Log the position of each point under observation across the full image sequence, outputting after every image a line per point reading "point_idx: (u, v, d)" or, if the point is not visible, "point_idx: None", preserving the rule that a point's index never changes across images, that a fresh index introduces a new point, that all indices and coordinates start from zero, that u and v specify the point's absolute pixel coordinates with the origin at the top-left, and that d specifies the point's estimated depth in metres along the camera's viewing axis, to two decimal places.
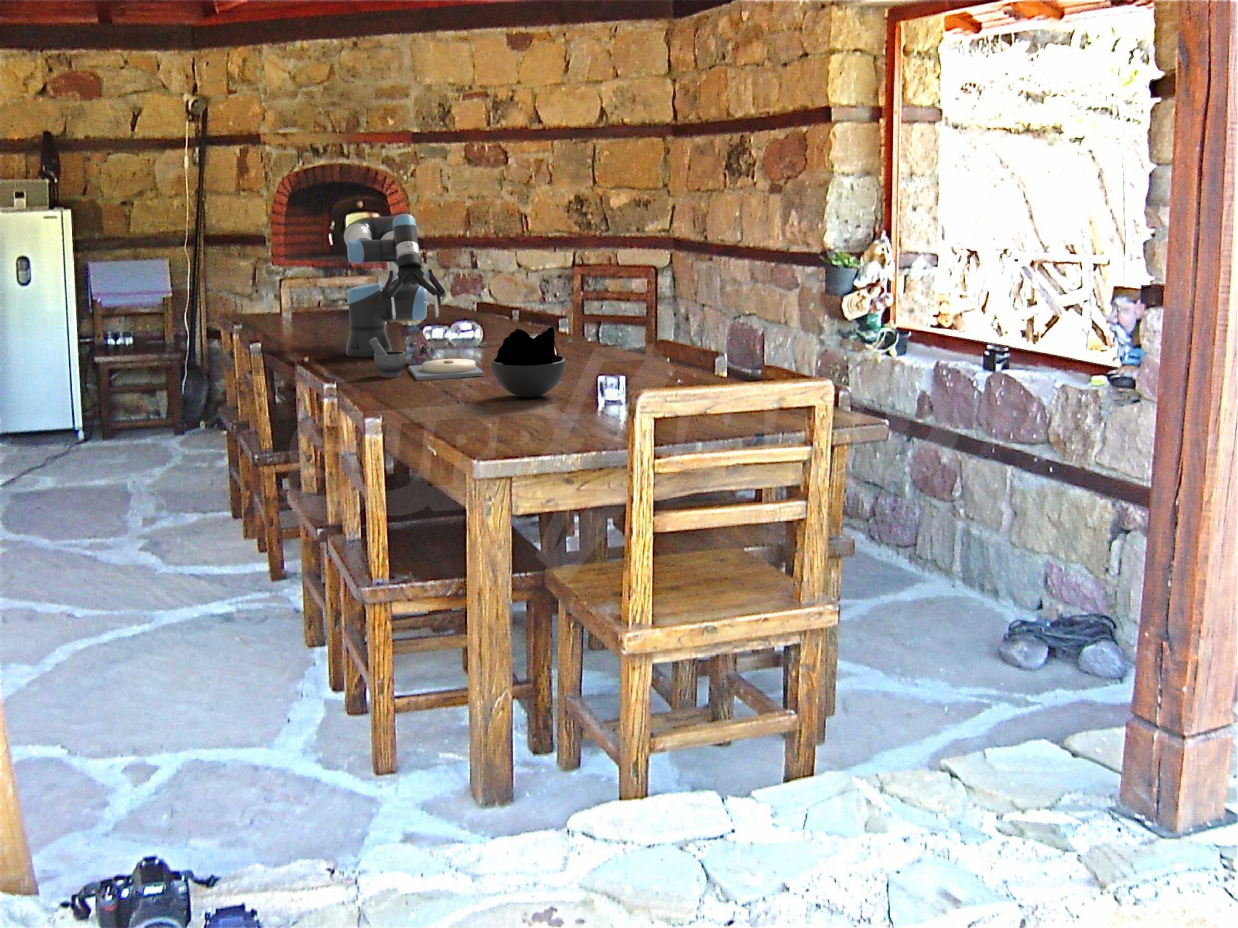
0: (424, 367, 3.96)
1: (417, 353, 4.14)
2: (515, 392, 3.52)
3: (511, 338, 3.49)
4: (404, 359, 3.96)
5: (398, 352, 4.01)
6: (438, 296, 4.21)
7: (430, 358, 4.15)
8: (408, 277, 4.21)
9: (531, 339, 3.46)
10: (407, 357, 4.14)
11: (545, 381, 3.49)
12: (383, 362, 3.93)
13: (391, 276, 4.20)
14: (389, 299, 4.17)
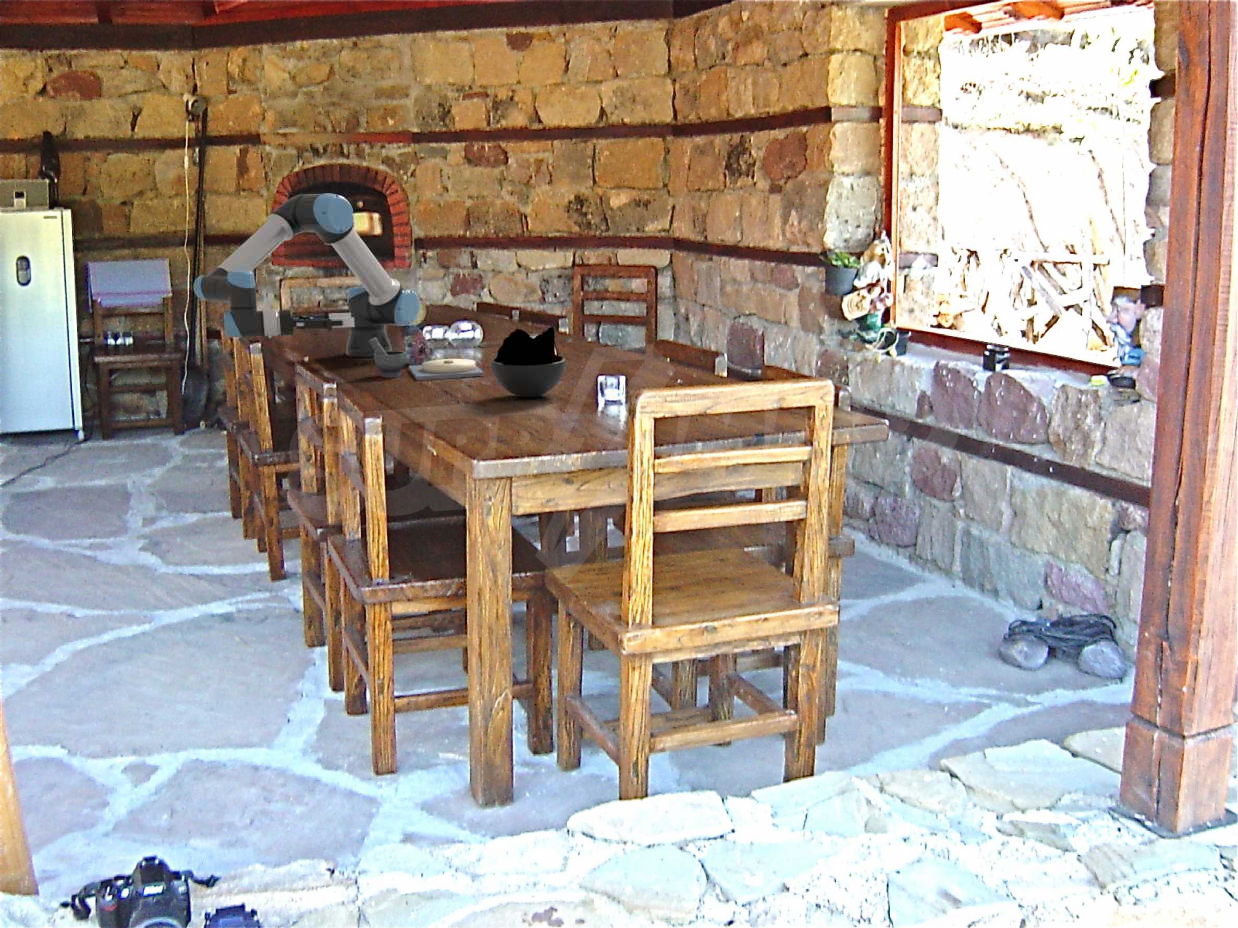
0: (424, 367, 3.96)
1: (416, 353, 4.14)
2: (515, 392, 3.52)
3: (511, 338, 3.49)
4: (404, 359, 3.96)
5: (398, 352, 4.01)
6: (332, 326, 3.83)
7: (429, 358, 4.16)
8: None
9: (531, 339, 3.46)
10: (406, 357, 4.15)
11: (545, 381, 3.49)
12: (383, 362, 3.93)
13: None
14: None
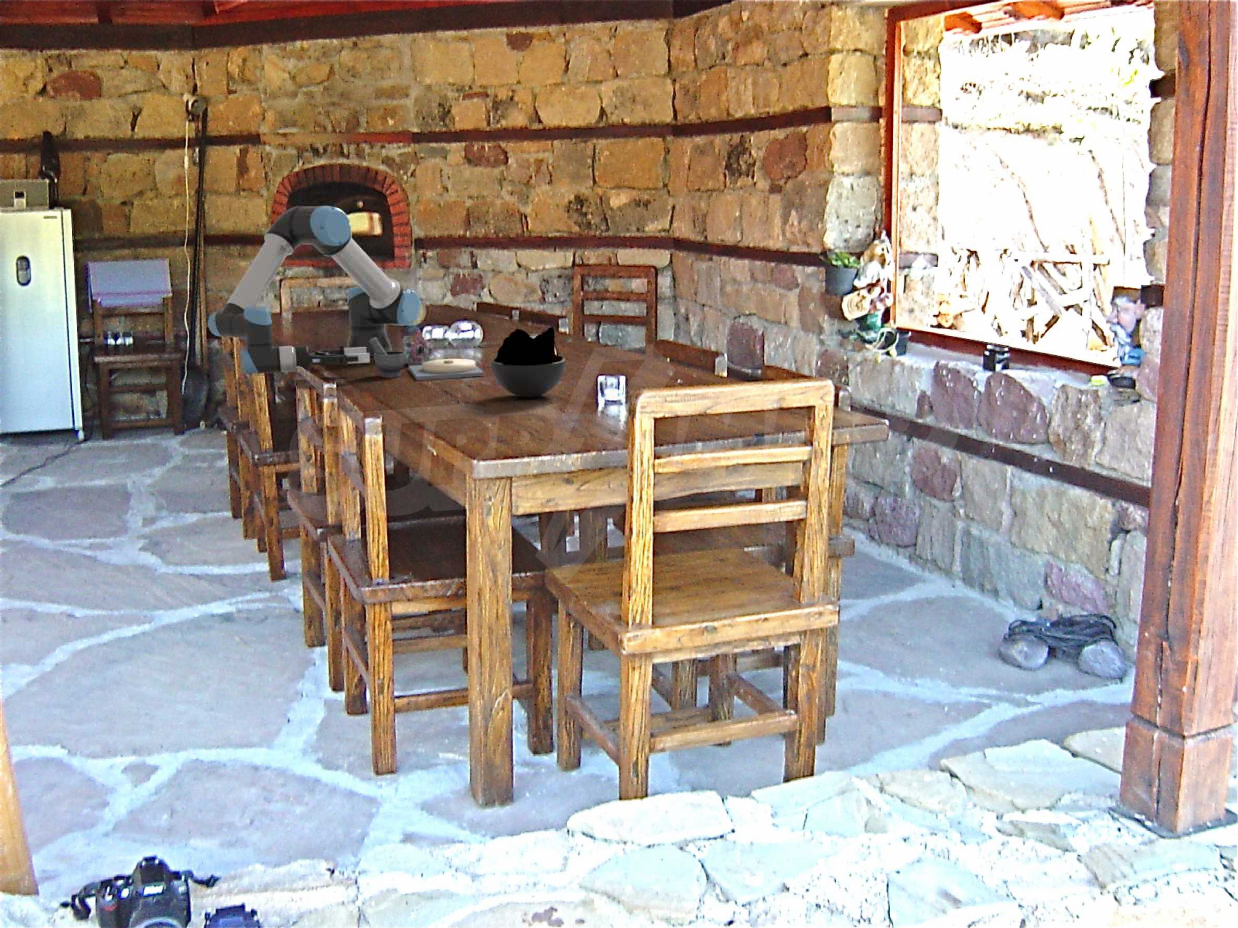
0: (424, 367, 3.96)
1: (414, 353, 4.14)
2: (515, 392, 3.52)
3: (511, 338, 3.49)
4: (404, 359, 3.96)
5: (398, 352, 4.01)
6: (348, 361, 3.86)
7: (427, 358, 4.16)
8: None
9: (531, 339, 3.46)
10: None
11: (545, 381, 3.49)
12: (383, 362, 3.93)
13: None
14: None
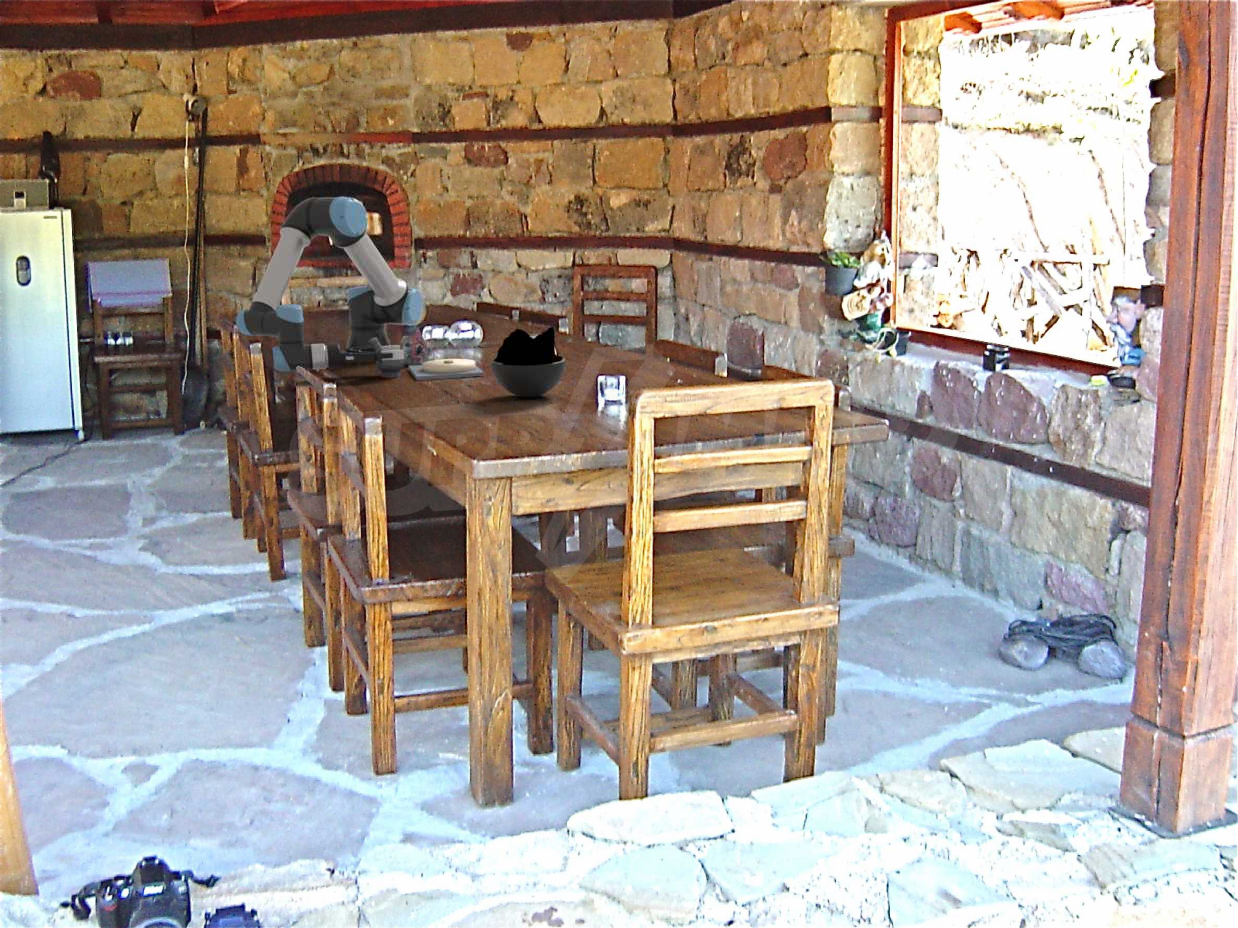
0: (424, 367, 3.96)
1: (412, 353, 4.15)
2: (515, 392, 3.52)
3: (511, 338, 3.49)
4: (404, 359, 3.96)
5: None
6: (382, 358, 3.90)
7: (426, 358, 4.16)
8: None
9: (531, 339, 3.46)
10: None
11: (545, 381, 3.49)
12: (383, 362, 3.93)
13: None
14: None
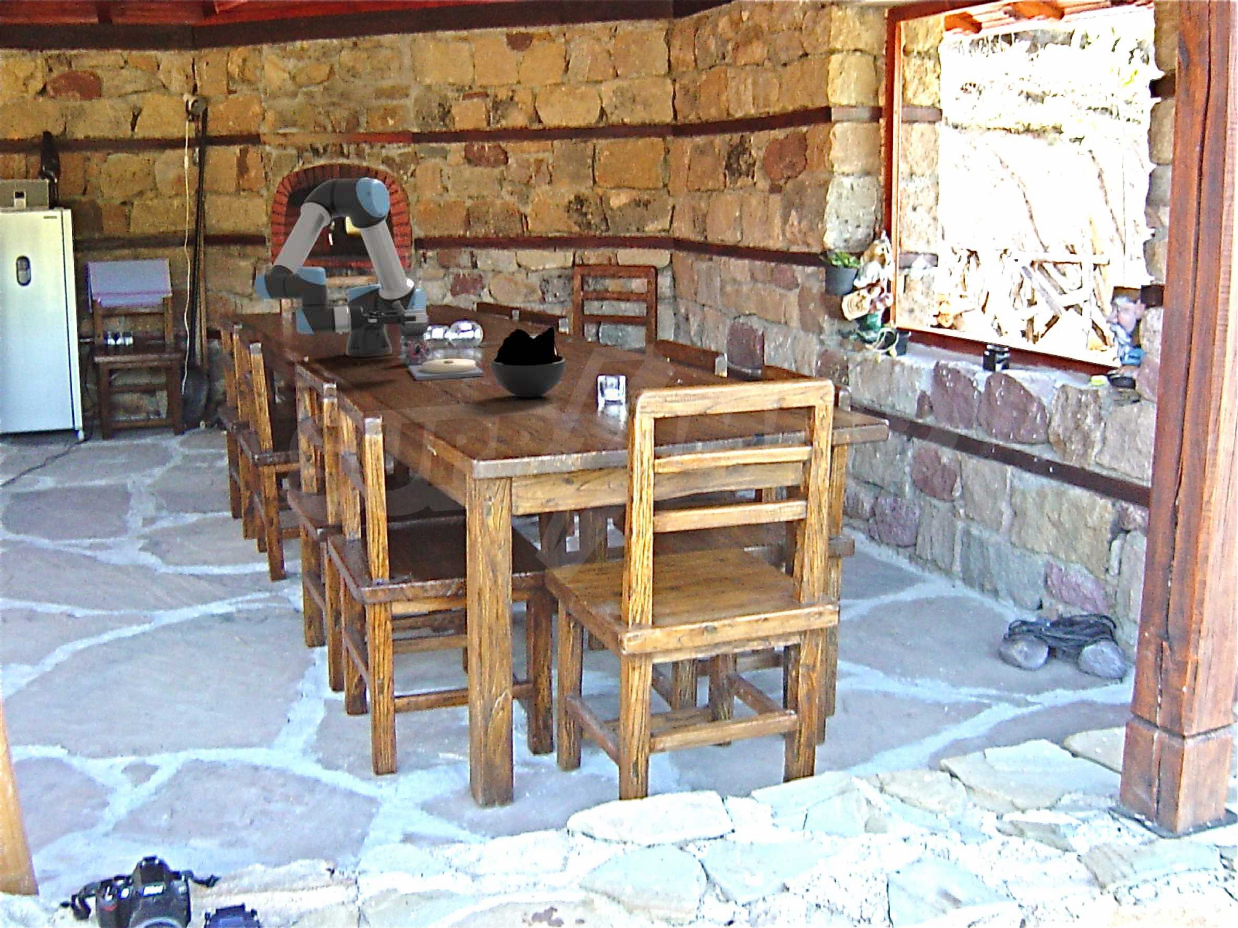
0: (424, 367, 3.96)
1: (411, 352, 4.15)
2: (515, 392, 3.52)
3: (511, 338, 3.49)
4: (427, 323, 3.93)
5: None
6: (405, 321, 3.88)
7: (424, 358, 4.17)
8: None
9: (531, 339, 3.46)
10: (401, 356, 4.16)
11: (545, 381, 3.49)
12: (406, 325, 3.91)
13: None
14: None
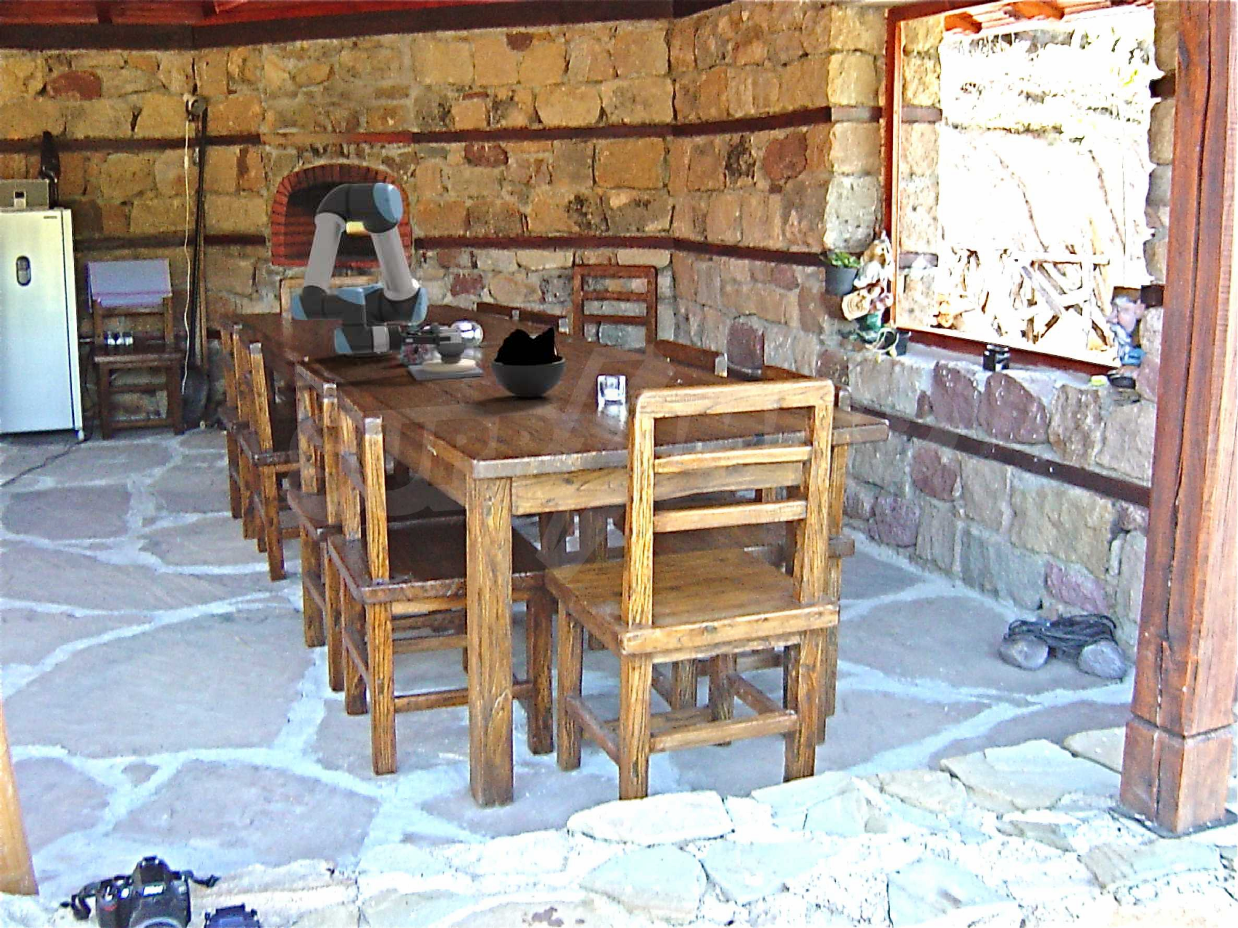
0: (424, 367, 3.96)
1: (409, 352, 4.16)
2: (515, 392, 3.52)
3: (511, 338, 3.49)
4: (464, 344, 3.98)
5: None
6: (440, 341, 3.90)
7: (422, 357, 4.17)
8: None
9: (531, 339, 3.46)
10: (399, 356, 4.17)
11: (545, 381, 3.49)
12: (444, 347, 3.95)
13: None
14: None
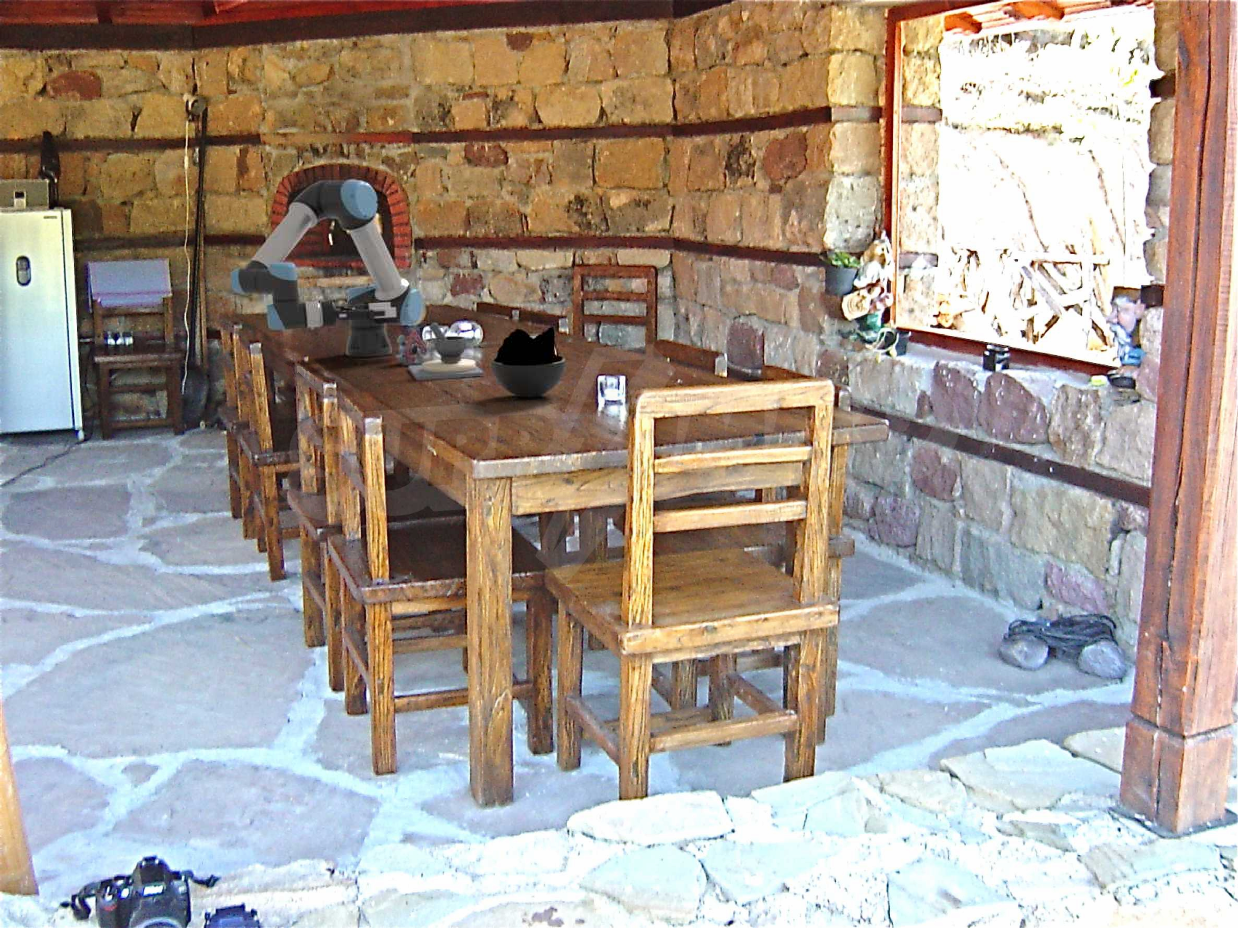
0: (424, 367, 3.96)
1: (407, 352, 4.16)
2: (515, 392, 3.52)
3: (511, 338, 3.49)
4: (464, 344, 3.98)
5: (457, 337, 4.02)
6: (374, 316, 3.86)
7: (420, 357, 4.17)
8: None
9: (531, 339, 3.46)
10: (398, 356, 4.18)
11: (545, 381, 3.49)
12: (444, 347, 3.95)
13: None
14: None
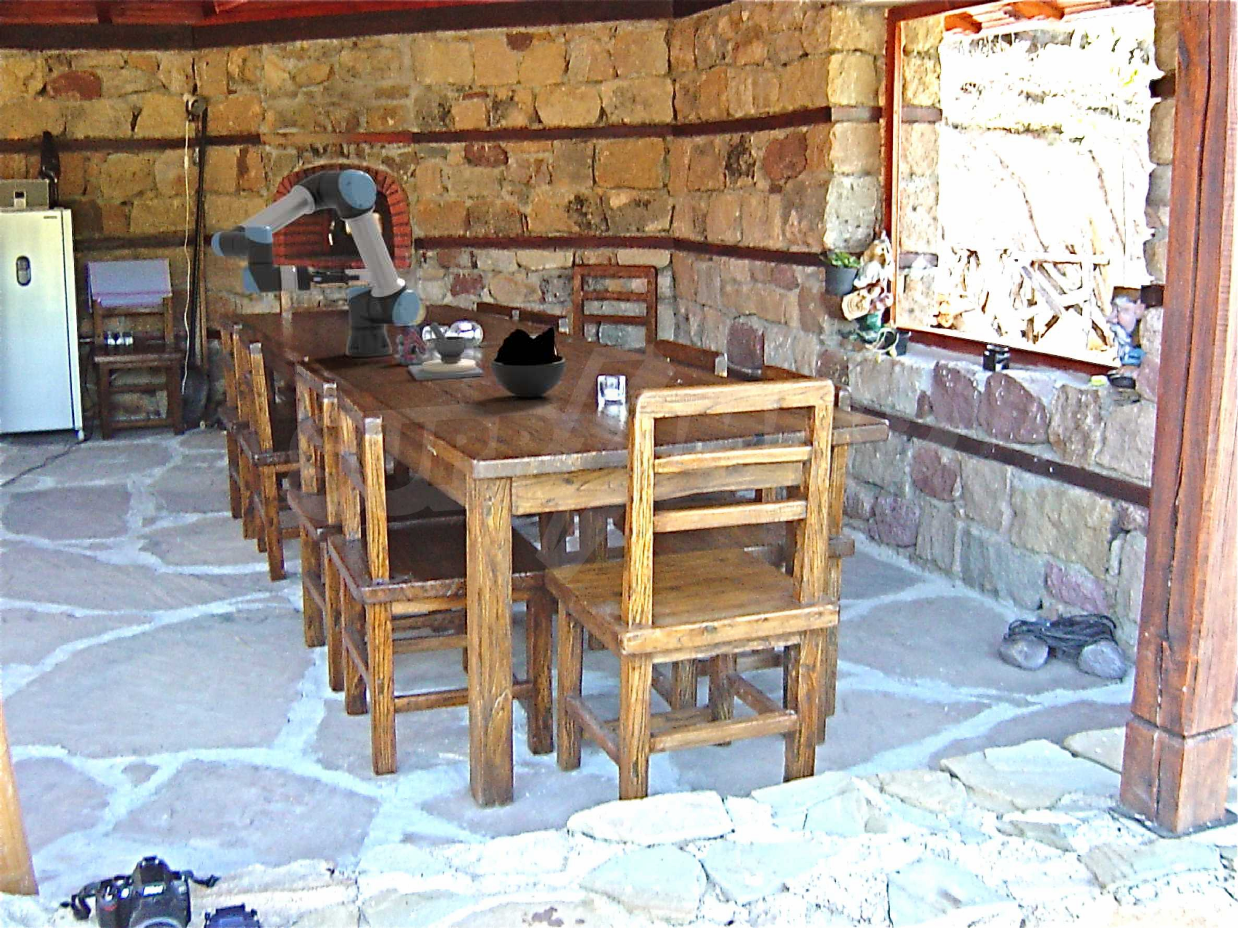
0: (424, 367, 3.96)
1: (406, 352, 4.17)
2: (515, 392, 3.52)
3: (511, 338, 3.49)
4: (464, 344, 3.98)
5: (457, 337, 4.02)
6: (349, 280, 3.87)
7: (419, 357, 4.18)
8: None
9: (531, 339, 3.46)
10: (397, 355, 4.18)
11: (545, 381, 3.49)
12: (443, 347, 3.95)
13: None
14: None
